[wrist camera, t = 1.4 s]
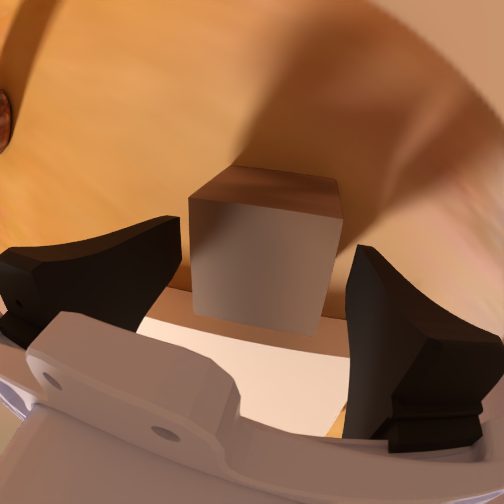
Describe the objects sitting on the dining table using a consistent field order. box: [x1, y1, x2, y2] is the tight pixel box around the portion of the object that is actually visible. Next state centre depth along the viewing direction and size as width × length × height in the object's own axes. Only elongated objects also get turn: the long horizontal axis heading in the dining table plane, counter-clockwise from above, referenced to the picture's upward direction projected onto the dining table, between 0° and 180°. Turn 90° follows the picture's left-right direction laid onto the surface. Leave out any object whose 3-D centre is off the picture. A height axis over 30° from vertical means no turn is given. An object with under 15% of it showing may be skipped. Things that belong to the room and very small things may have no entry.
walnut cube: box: [188, 166, 344, 337], centre depth 12 cm, size 5×5×5 cm
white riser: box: [136, 287, 350, 437], centre depth 19 cm, size 14×12×3 cm
